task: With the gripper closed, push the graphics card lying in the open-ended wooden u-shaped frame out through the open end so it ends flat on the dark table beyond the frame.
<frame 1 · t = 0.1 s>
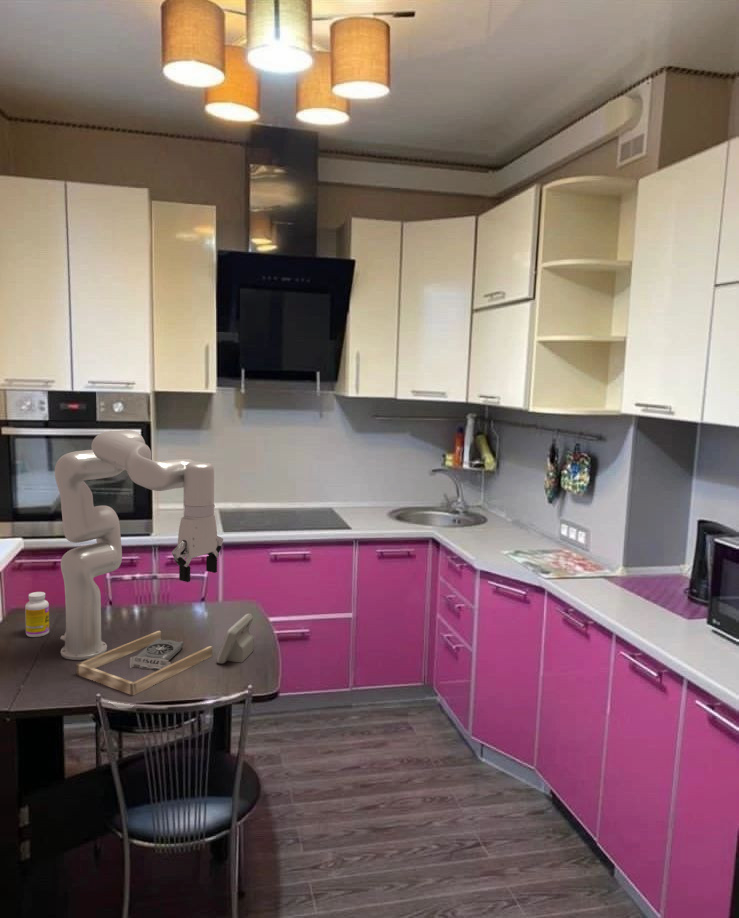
hand: (198, 576, 174), 31 cm above the table, tool pointing down, fingers open, 9 cm apart
graphics card: (162, 660, 197), on the table
digital clock: (235, 655, 201), on the table
wooden u-shaped frame: (162, 658, 197), on the table
supplement bottle: (37, 634, 211), on the table
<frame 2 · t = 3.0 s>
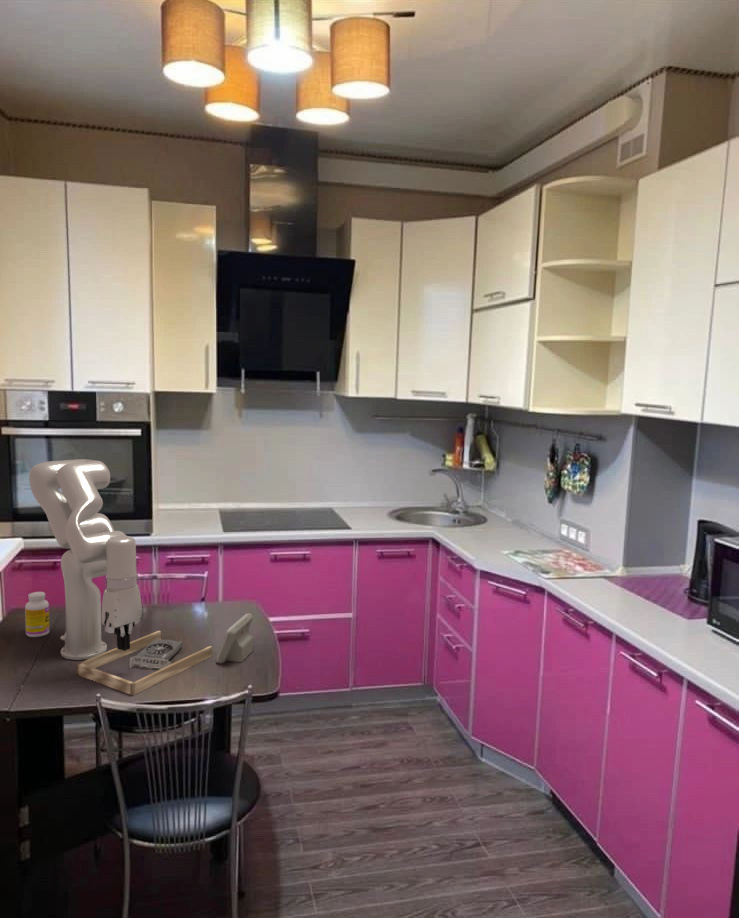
hand: (123, 648, 183), 8 cm above the table, tool pointing down, fingers closed
nothing on the table moved.
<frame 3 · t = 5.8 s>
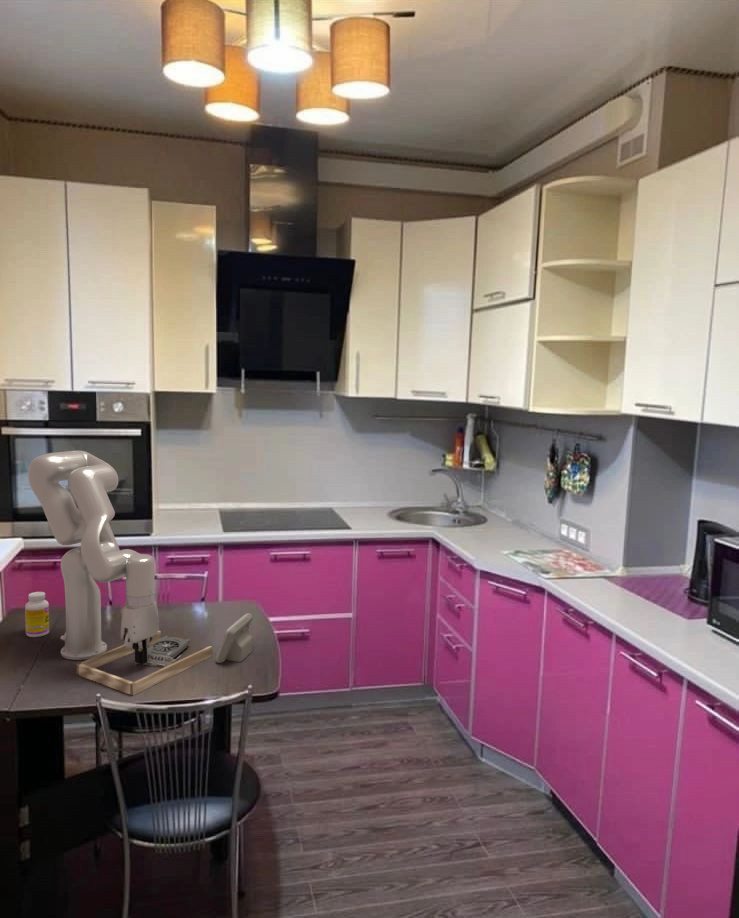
hand: (141, 662, 190), 2 cm above the table, tool pointing down, fingers closed
graphics card: (168, 657, 199), on the table
everything else where it was.
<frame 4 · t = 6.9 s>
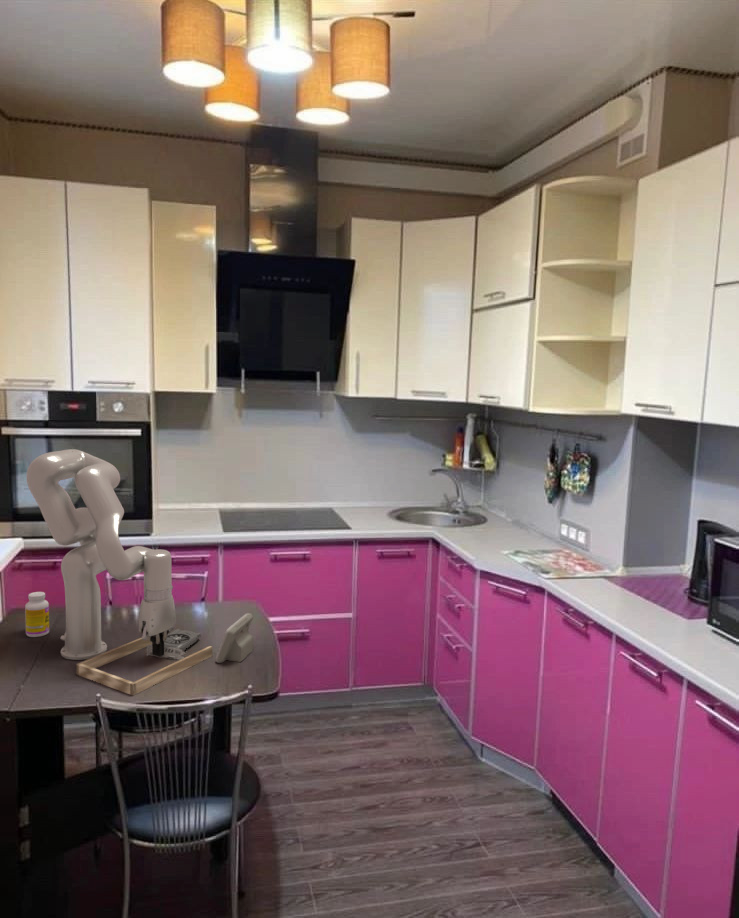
hand: (158, 654, 195), 2 cm above the table, tool pointing down, fingers closed
graphics card: (178, 649, 205), on the table, touching gripper
everything else where it was.
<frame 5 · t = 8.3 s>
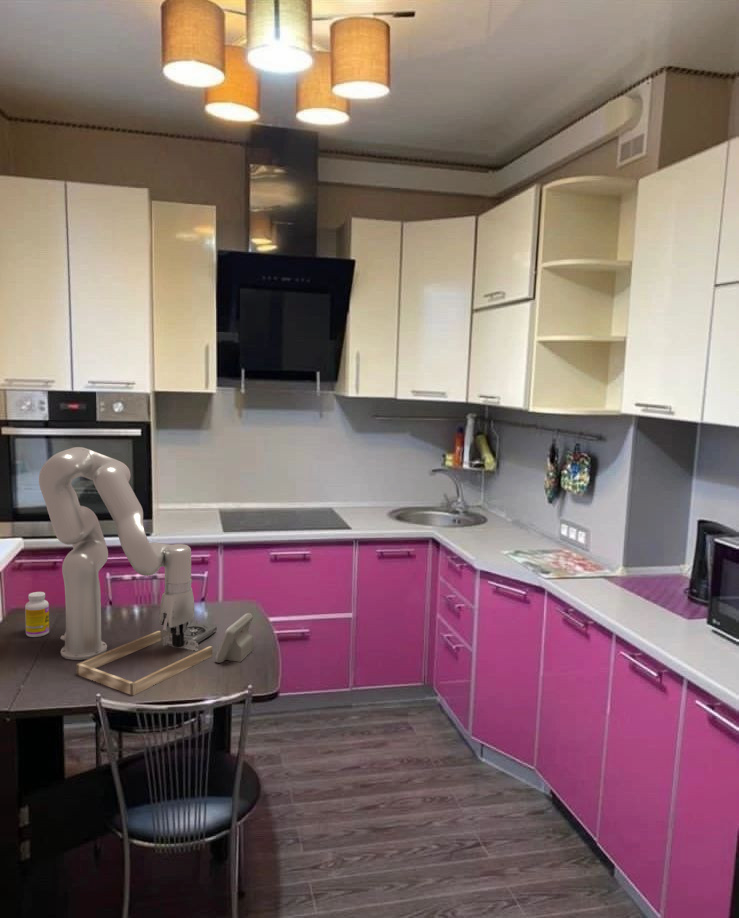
hand: (177, 645, 202), 2 cm above the table, tool pointing down, fingers closed
graphics card: (194, 641, 211), on the table, touching gripper
everything else where it was.
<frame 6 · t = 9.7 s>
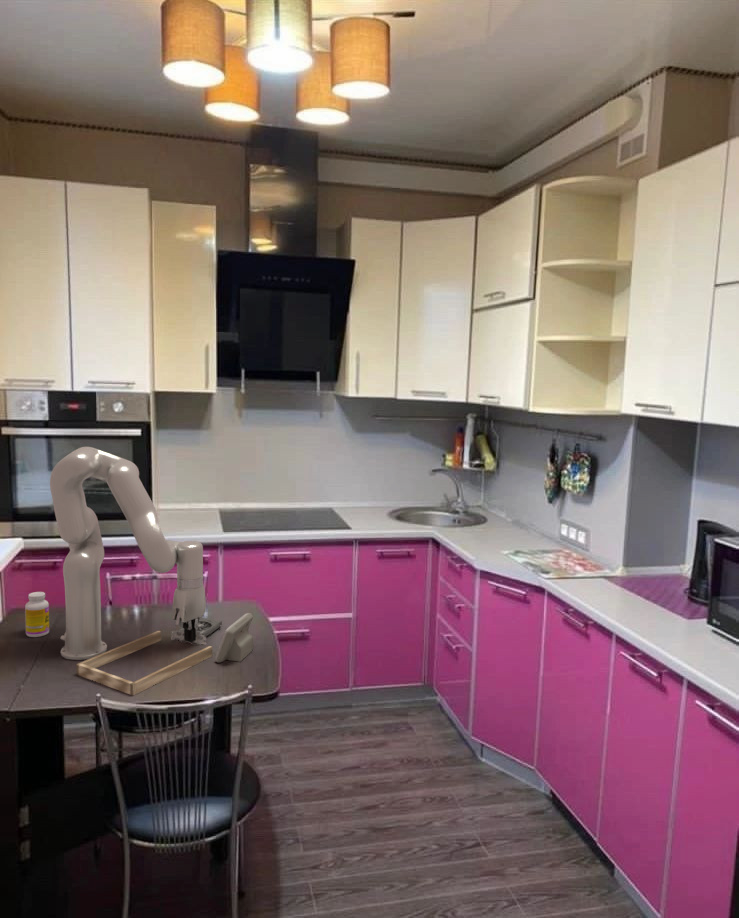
hand: (189, 640, 206), 2 cm above the table, tool pointing down, fingers closed
graphics card: (201, 636, 216), on the table, touching gripper
everything else where it was.
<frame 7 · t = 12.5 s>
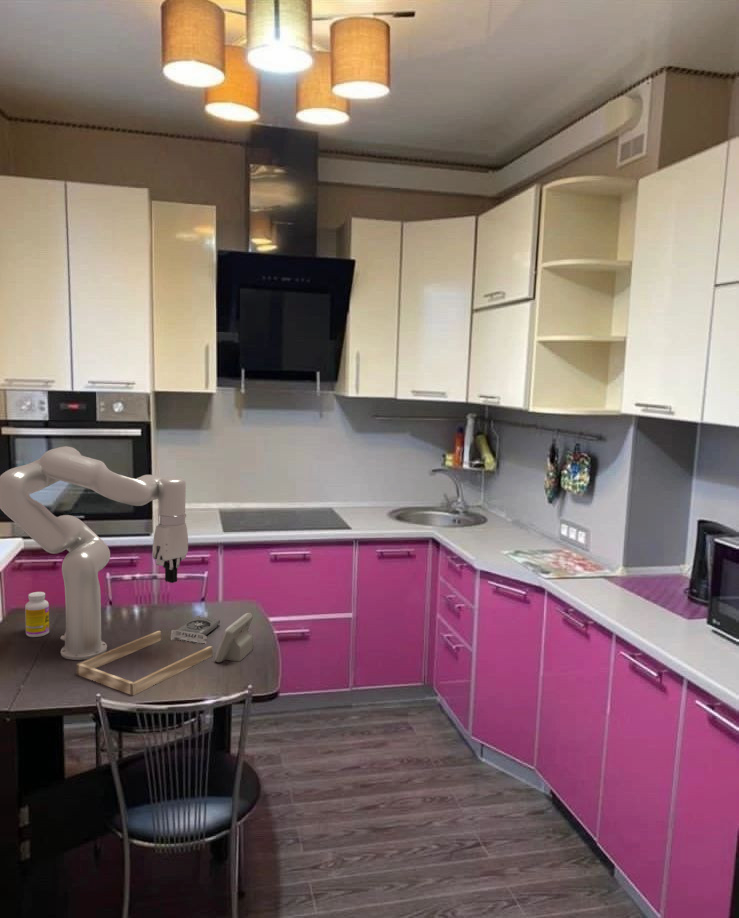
hand: (171, 581, 197), 22 cm above the table, tool pointing down, fingers closed
graphics card: (200, 635, 217), on the table
everything else where it was.
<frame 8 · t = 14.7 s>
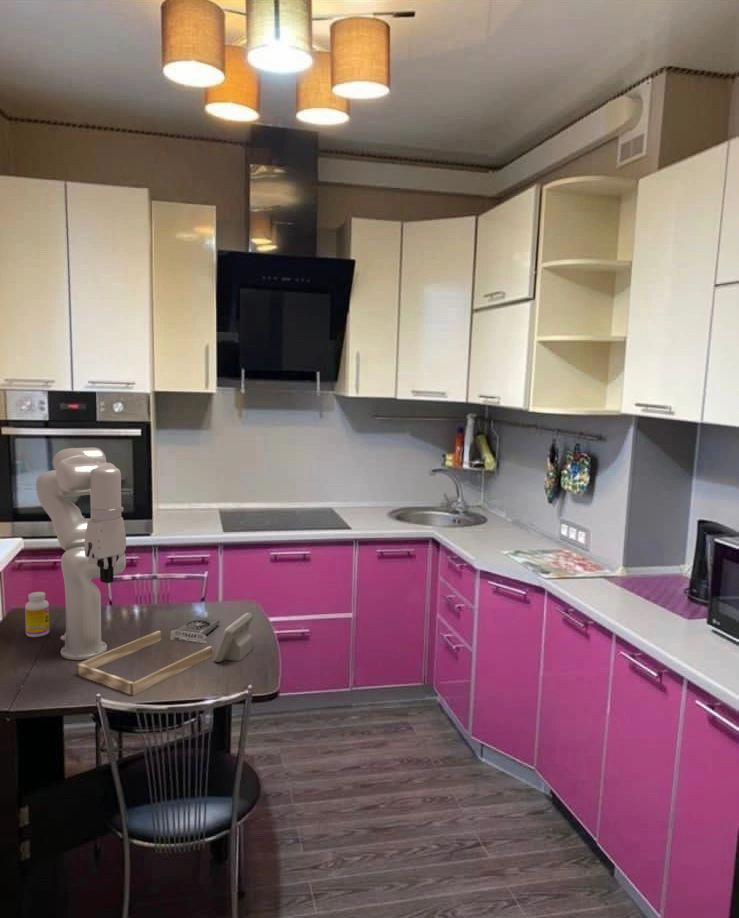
hand: (106, 581, 179), 27 cm above the table, tool pointing down, fingers closed
at the end: graphics card inside the target area (6.9 cm from its centre), on the table; graphics card touching table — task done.
